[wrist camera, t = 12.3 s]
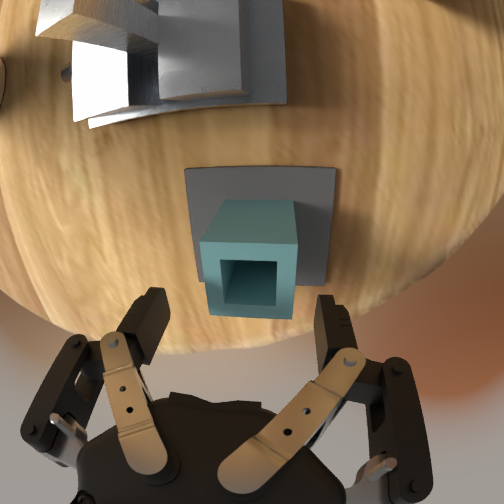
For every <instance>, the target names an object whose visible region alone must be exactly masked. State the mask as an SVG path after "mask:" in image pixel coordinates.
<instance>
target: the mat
mask: <svg viewBox="0 0 504 504" xmlns="http://www.w3.org/2000/svg"><path fill="white" fill-rule="evenodd" d="M184 173H185V183H186V192H187V200H188V209H189V217H190V224H191V232H192V239H193V246H194V253H195V259H196V266H197V272H198V278H199V282H205V281H204V274H203V266H202V259H201V251H200V243H199V242H200V240H201V238H202V237H203V235H204V233H205V232H206V230H207V228H208V227H209V225H210V223H211V222H212V220H213V218H214V217H215V215H216V214H217V212H218V210H219V209H220V207H221V205H222V204H223V202H224V201H225V200H292V201H293V205H294V213H295V222H296V231H297V241H298V250H297V265H296V278H295V285H302V286H324V285H325V278H326V270H327V263H328V254H329V246H330V236H331V226H332V215H333V203H334V189H335V173H336V169H335V168H334V167H315V166H273V165H259V166H217V167H197V168H186V169H185V170H184Z"/></svg>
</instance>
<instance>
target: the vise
mask: <svg viewBox="0 0 504 504" xmlns="http://www.w3.org/2000/svg"><path fill="white" fill-rule="evenodd" d="M36 36H38V37H48V38H57V39H64V40H71V41H73V48H72V62H71V63H69V64H67V65H65V66H63V68H62V69H61V78H62V80H63V81H64V82H70V81H72V98H73V114H74V122H75V121H81V120H87V119H89V128H94V127H100V126H105V125H111V124H115V123H119V122H123V121H128V120H133V119H138V118H143V117H148V116H153V115H159V114H165V113H172V112H179V111H186V110H195V109H204V108H215V107H228V106H246V105H286V104H287V88H286V59H285V38H284V20H283V5H282V0H41V5H40V10H39V16H38V22H37V29H36Z"/></svg>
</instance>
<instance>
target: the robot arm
mask: <svg viewBox="0 0 504 504" xmlns="http://www.w3.org/2000/svg"><path fill="white" fill-rule="evenodd" d="M4 86H5V66H4V63H3V61H2V60H1V59H0V104H1V101H2V97H3V92H4ZM169 320H170V307H169V304H168V300H167V296H166V292H165V289H164V288H158V287H150V288H149V289H148V291H147V292H146V294H145V295H144V296H143V295H141V296H140V297H139V298H138V299H136V300H135V301H134V303H133V304H132V306H131V308H130V309H129V310H128V312H127V314H126V315H125V317H124V318H123V320H122V322H121V323H120V325H119V326H118V328H117V330H116V331H114V332H110V333H107V334H106V335H104V336H103V337H102V339H101V341H89V342H88V340H87V338H86V337H85V336H84V335H82V334H76V335H73V336H71V337H70V338H69V339H68V340H67V341H66V342H65V344H64V346H63V347H62V349H61V351H60V353H59V354H58V356H57V358H56V359H55V361H54V363H53V364H52V366H51V368H50V370H49V371H48V373H47V375H46V377H45V379H44V380H43V382H42V384H41V386H40V388H39V390H38V392H37V394H36V396H35V398H34V400H33V402H32V404H31V406H30V408H29V410H28V412H27V414H26V416H25V418H24V420H23V423H22V425H21V429H20V432H21V436H22V438H23V440H24V441H25V442H27V443H28V444H29V445H31V446H32V447H33V448H34V449H35V450H37V451H38V452H39V453H41V454H42V455H43V456H45V457H46V458H48V459H49V460H51V461H54V462H56V463H57V464H58V465H60V466H62V467H72V468H74V469H76V470H77V473H78V492H77V495H76V497H75V498H74V500H73V501H72V502H71V503H70V504H415V503H417V502H420V501H422V500H423V499H425V498H426V497H427V496H428V495H429V494H430V492H431V490H432V488H433V474H432V466H431V458H430V452H429V445H428V440H427V434H426V428H425V423H424V418H423V414H422V409H421V405H420V401H419V396H418V392H417V389H416V385H415V381H414V377H413V373H412V370H411V367H410V365H409V363H408V362H407V361H405V360H404V359H402V358H399V357H391V358H389V359H387V360H386V361H385V362H384V363H380V362H375V361H371V360H368V359H366V358H365V356H364V354H363V353H362V352H361V351H359V350H358V347H357V343H356V339H355V335H354V332H353V327H352V323H351V321H350V316H349V312H348V311H347V309H346V308H345V307H344V306H343V305H335V301H334V297H333V295H318V297H317V304H316V310H315V316H314V333H315V342H316V350H317V361H318V372H319V376H318V377H317V378H316V379H315V380H314V381H309V382H308V383H307V384H306V385H305V386H304V387H303V388H302V389H301V390H300V391H299V393H298V394H297V395H296V396H295V397H294V398H293V399H292V400H291V401H290V402H289V403H288V404H287V405H286V406H285V407H284V409H282V411H281V412H280V413H279V414H278V415H277V414H275V413H273V412H272V411H269V410H267V409H263V408H261V402H254V401H253V402H252V401H239V400H237V401H229V402H221V403H211V402H208V401H206V400H203V399H200V398H198V397H195V396H193V395H188V394H181V393H176V392H170V395H169V398H161V399H158V400H155V401H153V399H152V397H151V395H150V392H149V390H148V387H147V385H146V382H145V380H144V377H143V374H142V372H141V370H140V367H141V365H142V364H146V365H150V363H151V361H152V358H153V356H154V354H155V352H156V349H157V347H158V345H159V342H160V340H161V338H162V336H163V333H164V331H165V329H166V327H167V325H168V322H169ZM79 372H81V375H80V376H79V378H78V380H77V383H76V385H75V380H76V378H77V375H78V374H79ZM104 382H105V386H106V390H107V394H108V398H109V402H110V405H111V409H112V412H113V416H114V419H115V421H116V425H115V426H113V427H112V428H110V429H108V430H107V431H105V432H103V433H102V434H100V435H99V436H97V437H95V438H94V439H92V440H90V441H89V442H88V441H87V432H86V430H85V429H86V426H87V424H88V421H89V419H90V416H91V413H92V411H93V408H94V406H95V403H96V401H97V398H98V396H99V394H100V391H101V389H102V386H103V384H104ZM347 401H353V402H358V403H363V404H365V406H366V415H367V426H368V439H369V455H370V460H369V461H368V462H366V463H365V464H364V465H363V466H362V467H361V468H360V469H359V470H358V472H357V475H356V480H355V482H354V484H353V486H352V487H350V488H346V489H345V488H344V486H343V484H342V483H341V482H340V480H339V479H338V478H337V477H336V476H335V475H334V474H333V473H332V472H331V471H330V470H329V469H328V468H327V467H326V466H325V465H324V464H323V463H322V462H321V461H320V460H319V459H318V457H316V455H315V454H314V453H313V452H312V451H311V448H312V447H313V446H314V445H315V444H316V442H317V441H318V440H319V439H320V438H321V436H322V435H323V434H324V432H325V431H326V429H327V428H328V426H329V425H330V424H331V422H332V421H333V420H334V418H335V417H336V416H337V414H338V413H339V411H340V410H341V409H342V408H343V406H344V405H345V403H346V402H347Z"/></svg>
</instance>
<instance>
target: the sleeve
mask: <svg viewBox="0 0 504 504" xmlns="http://www.w3.org/2000/svg"><path fill="white" fill-rule="evenodd" d="M199 243H200V251H201V259H202V266H203V274H204V281H205V288H206V295H207V301H208V308H209V314H210V315H217V316H231V317H247V318H267V319H292V313H293V302H294V291H295V278H296V265H297V250H298V241H297V231H296V222H295V213H294V205H293V201H292V200H225V201H224V202H223V204H222V205H221V207H220V209H219V210H218V212H217V214H216V215H215V217H214V218H213V220H212V222H211V223H210V225H209V227H208V228H207V230H206V232H205V233H204V235H203V237H202V238H201V240H200V242H199Z"/></svg>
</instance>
